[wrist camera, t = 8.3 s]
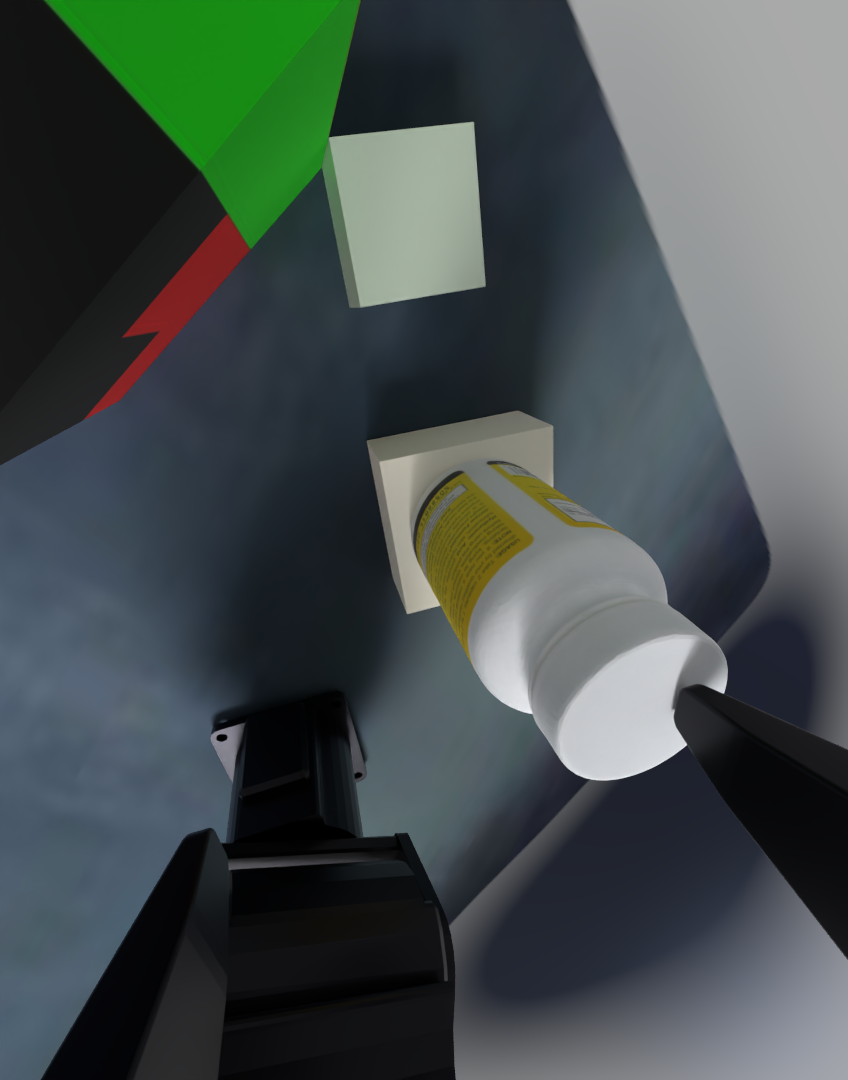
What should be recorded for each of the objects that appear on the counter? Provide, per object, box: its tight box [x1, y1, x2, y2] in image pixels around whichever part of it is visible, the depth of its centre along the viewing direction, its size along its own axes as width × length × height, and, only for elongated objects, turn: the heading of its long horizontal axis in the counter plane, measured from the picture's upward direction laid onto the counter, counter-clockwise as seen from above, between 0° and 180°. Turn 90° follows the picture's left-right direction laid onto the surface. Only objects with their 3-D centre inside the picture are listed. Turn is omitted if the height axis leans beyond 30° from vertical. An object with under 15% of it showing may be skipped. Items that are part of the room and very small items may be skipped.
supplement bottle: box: [411, 458, 728, 780], centre depth 14 cm, size 5×5×10 cm
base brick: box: [367, 411, 553, 614], centre depth 19 cm, size 6×6×3 cm
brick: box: [322, 122, 486, 308], centre depth 15 cm, size 4×4×3 cm
